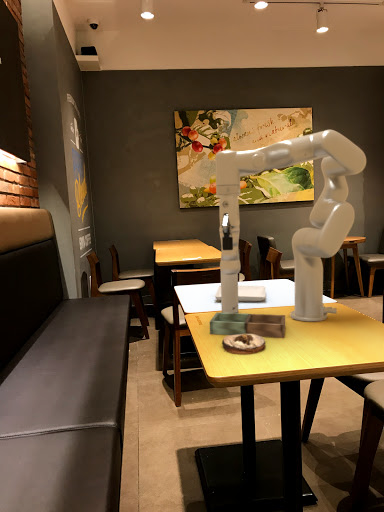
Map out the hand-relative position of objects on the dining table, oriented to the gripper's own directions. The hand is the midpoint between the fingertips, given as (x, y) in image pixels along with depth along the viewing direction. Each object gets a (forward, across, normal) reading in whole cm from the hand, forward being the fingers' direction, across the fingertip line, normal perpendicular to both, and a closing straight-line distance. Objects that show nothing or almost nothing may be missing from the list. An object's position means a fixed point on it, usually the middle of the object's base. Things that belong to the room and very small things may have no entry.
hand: (229, 248), depth 127 cm
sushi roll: (+27, -15, -6) cm, 32 cm away
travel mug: (+27, +18, +4) cm, 33 cm away
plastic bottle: (+9, 0, 0) cm, 9 cm away
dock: (+27, 0, -5) cm, 27 cm away
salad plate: (+27, +45, +4) cm, 53 cm away
